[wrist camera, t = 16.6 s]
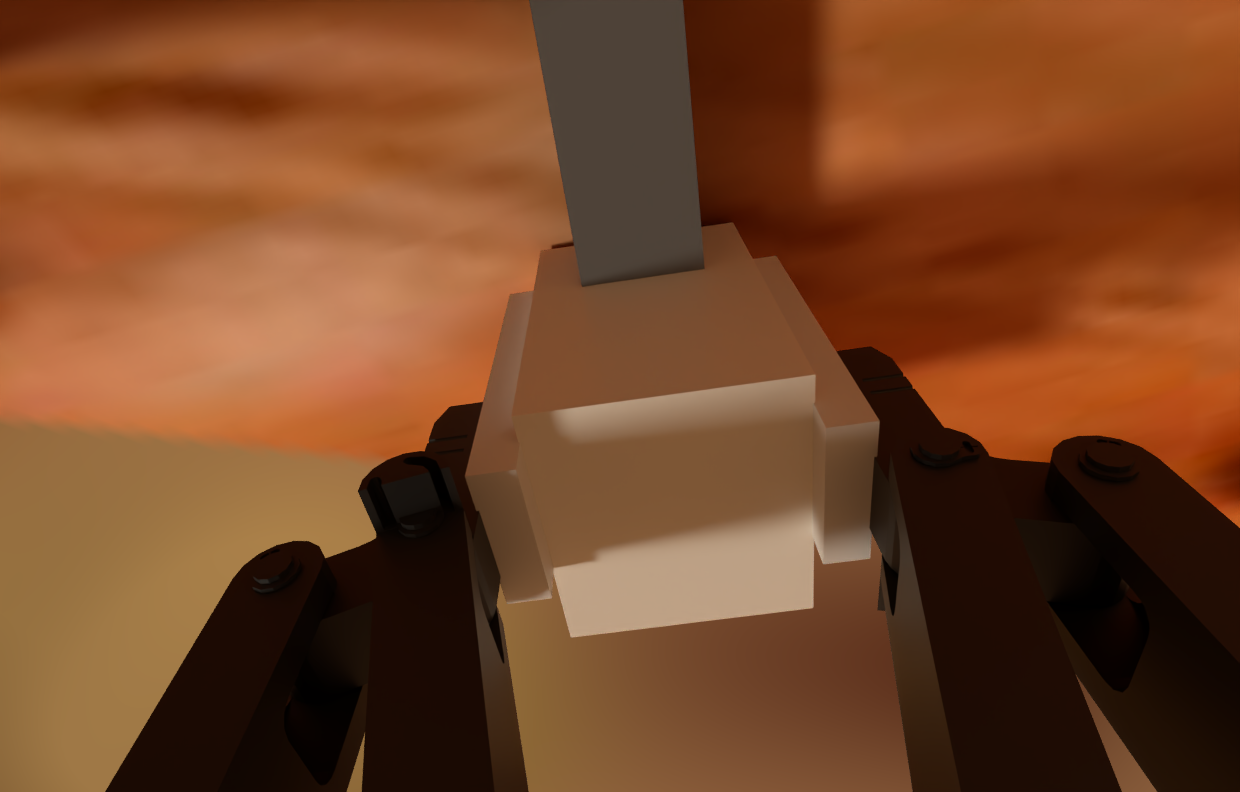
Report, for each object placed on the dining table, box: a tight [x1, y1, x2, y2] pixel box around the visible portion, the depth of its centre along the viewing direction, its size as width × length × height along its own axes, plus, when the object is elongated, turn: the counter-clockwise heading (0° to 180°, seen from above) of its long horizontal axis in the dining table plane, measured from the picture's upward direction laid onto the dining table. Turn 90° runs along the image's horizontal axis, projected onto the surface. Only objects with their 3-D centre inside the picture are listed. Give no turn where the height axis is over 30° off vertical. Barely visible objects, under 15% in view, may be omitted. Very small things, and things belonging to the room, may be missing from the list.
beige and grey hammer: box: [511, 0, 815, 637], centre depth 12 cm, size 16×4×7 cm, turn 8°
